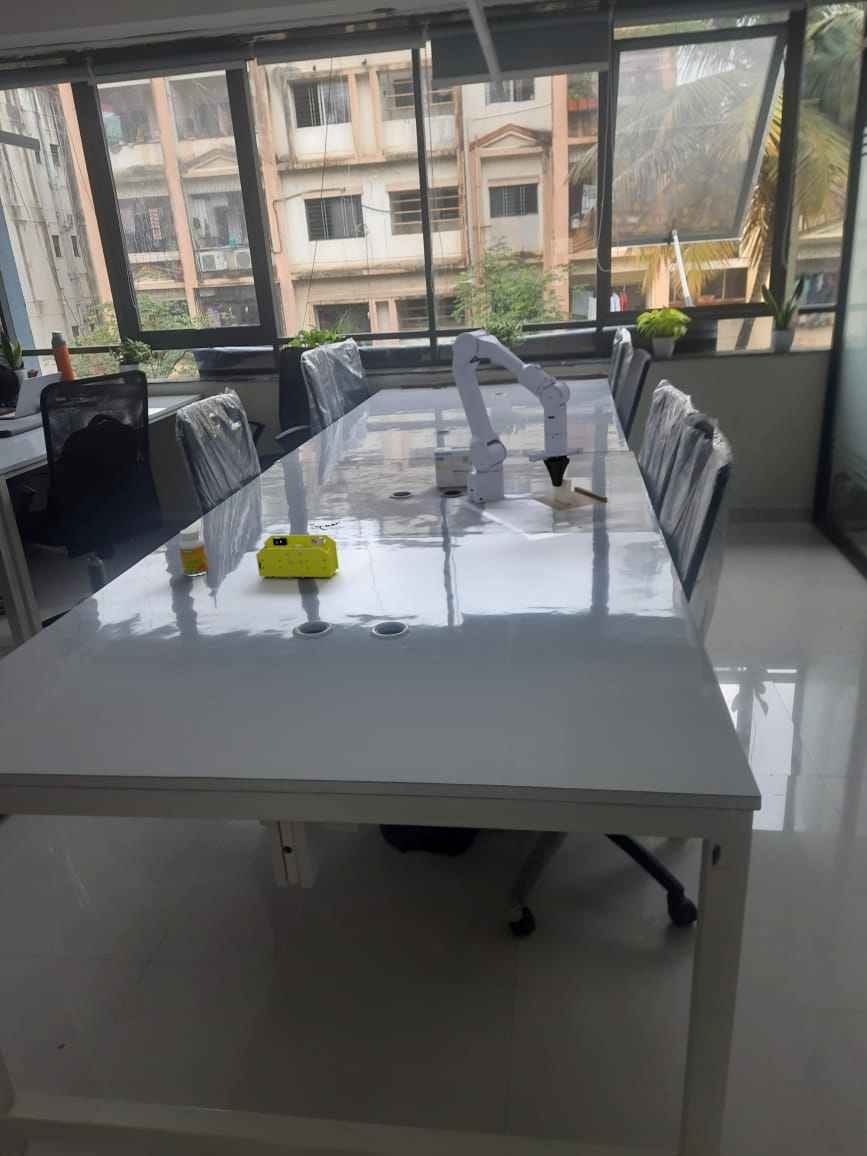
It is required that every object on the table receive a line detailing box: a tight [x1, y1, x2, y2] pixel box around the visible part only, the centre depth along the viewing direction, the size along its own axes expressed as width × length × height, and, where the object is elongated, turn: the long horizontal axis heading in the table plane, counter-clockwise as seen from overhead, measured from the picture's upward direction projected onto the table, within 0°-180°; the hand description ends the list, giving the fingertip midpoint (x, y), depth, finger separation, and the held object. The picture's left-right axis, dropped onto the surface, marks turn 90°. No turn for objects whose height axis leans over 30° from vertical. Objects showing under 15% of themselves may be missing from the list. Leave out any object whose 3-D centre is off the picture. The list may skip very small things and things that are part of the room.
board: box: [531, 486, 608, 511], centre depth 204 cm, size 14×14×2 cm
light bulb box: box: [433, 445, 474, 488], centre depth 232 cm, size 11×7×11 cm, turn 84°
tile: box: [553, 476, 572, 504], centre depth 202 cm, size 2×6×6 cm, turn 22°
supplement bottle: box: [178, 527, 210, 575], centre depth 172 cm, size 5×5×10 cm
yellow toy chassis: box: [255, 534, 340, 579], centre depth 166 cm, size 16×6×8 cm, turn 79°
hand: (556, 486), depth 201 cm, fingers closed
